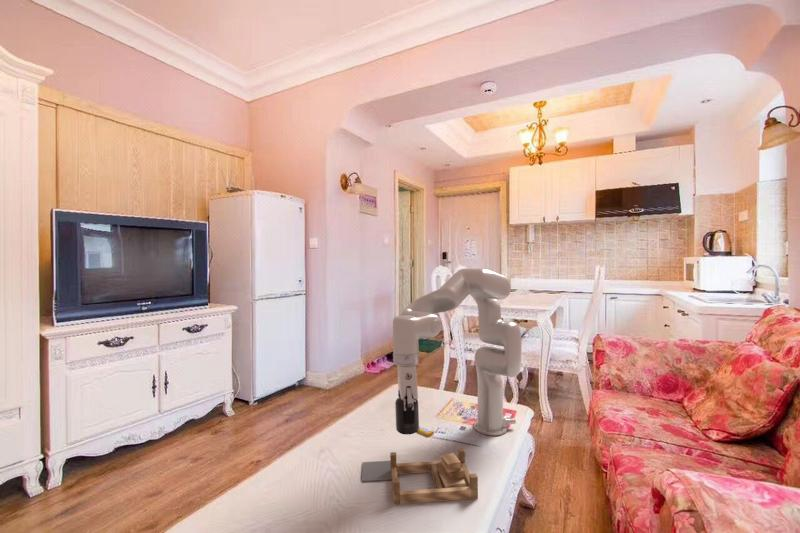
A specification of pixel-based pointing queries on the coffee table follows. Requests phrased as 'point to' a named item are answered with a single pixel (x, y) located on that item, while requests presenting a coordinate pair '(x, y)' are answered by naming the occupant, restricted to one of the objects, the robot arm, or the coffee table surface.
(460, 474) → the offcut
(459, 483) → the offcut
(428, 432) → the candy bar
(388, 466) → the mat
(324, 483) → the coffee table surface
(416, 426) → the supplement bottle
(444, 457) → the offcut
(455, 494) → the rack
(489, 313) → the robot arm
